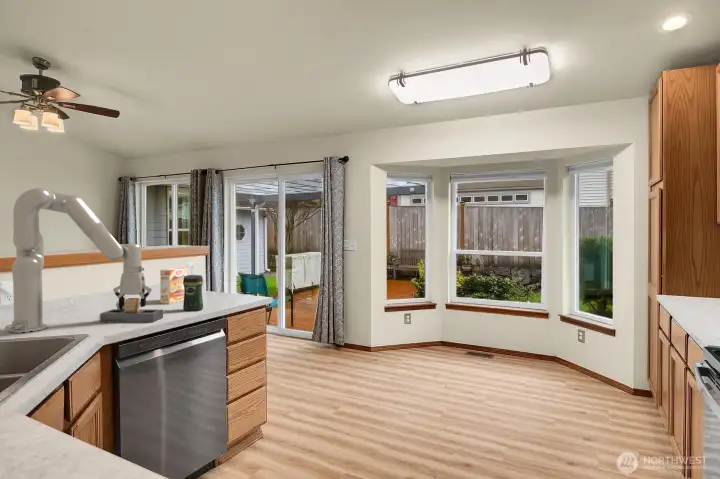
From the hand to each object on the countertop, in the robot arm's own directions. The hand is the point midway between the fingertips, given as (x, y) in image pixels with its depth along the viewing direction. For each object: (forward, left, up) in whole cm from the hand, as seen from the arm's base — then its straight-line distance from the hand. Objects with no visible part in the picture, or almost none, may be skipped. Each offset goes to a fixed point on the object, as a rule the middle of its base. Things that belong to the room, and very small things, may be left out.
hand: (132, 306), depth 197 cm
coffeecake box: (+49, +1, -7) cm, 49 cm away
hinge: (+14, +9, -7) cm, 18 cm away
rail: (0, 0, -6) cm, 6 cm away
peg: (0, 0, -6) cm, 6 cm away
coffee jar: (+25, -19, -6) cm, 32 cm away
